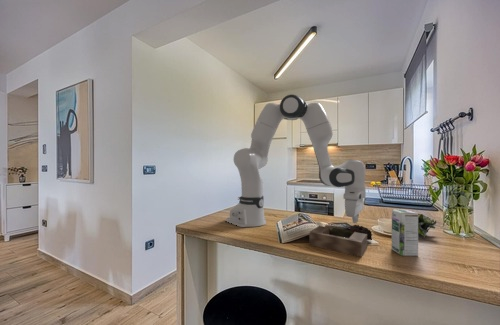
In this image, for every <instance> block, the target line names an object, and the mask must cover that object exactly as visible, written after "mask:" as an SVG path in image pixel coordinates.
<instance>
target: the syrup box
mask: <svg viewBox="0 0 500 325" xmlns="http://www.w3.org/2000/svg"><path fill="white" fill-rule="evenodd" d="M418 213H419V212H414V211H411V210H408V209H403V208H401V209H400V208H395V209H391V250H392V251H394V252H396V253H397V254H398V255H400V257H401V256H403V257H405V256H406V257H415V256H416V257H418V256H419V233H418Z"/></svg>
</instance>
